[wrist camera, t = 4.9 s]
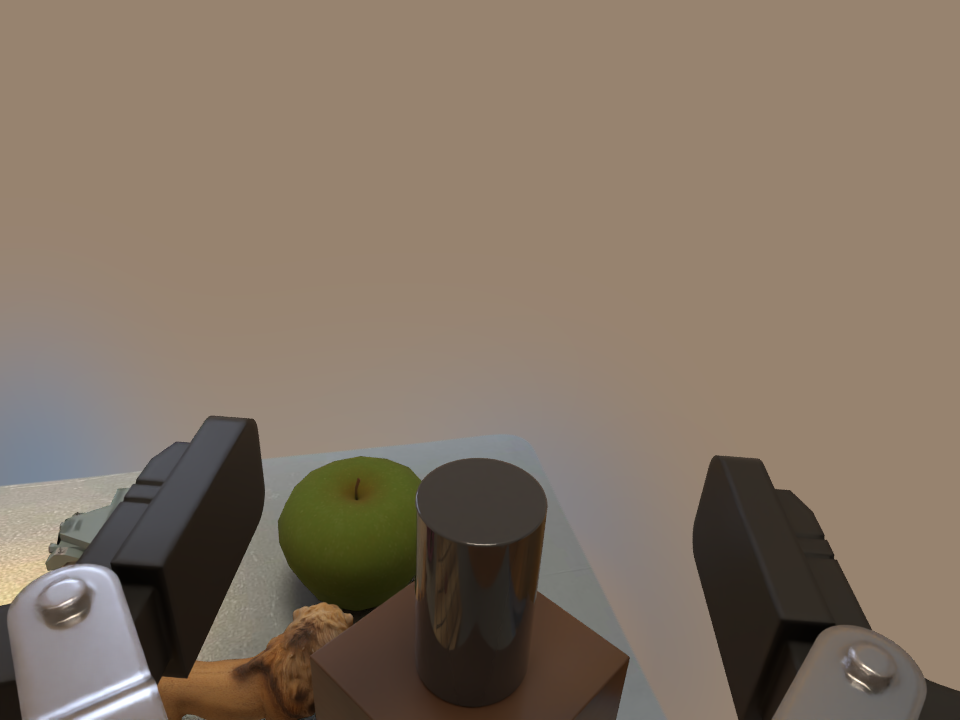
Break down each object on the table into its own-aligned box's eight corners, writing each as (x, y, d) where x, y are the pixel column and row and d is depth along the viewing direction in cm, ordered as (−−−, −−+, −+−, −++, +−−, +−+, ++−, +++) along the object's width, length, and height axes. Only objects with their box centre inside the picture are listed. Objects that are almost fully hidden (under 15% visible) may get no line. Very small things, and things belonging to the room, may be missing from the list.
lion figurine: (354, 672, 47) (349, 571, 43) (368, 749, 43) (363, 645, 38) (104, 727, 43) (68, 622, 39) (90, 818, 39) (49, 712, 34)
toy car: (73, 541, 56) (57, 491, 53) (209, 533, 57) (200, 484, 55) (40, 607, 50) (22, 555, 48) (192, 597, 52) (181, 546, 49)
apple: (349, 515, 60) (343, 414, 55) (460, 565, 56) (465, 461, 51) (253, 606, 51) (236, 496, 46) (376, 672, 47) (372, 560, 42)
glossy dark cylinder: (551, 656, 32) (574, 499, 28) (473, 731, 29) (485, 567, 25) (469, 593, 35) (478, 441, 31) (390, 655, 32) (387, 496, 27)
